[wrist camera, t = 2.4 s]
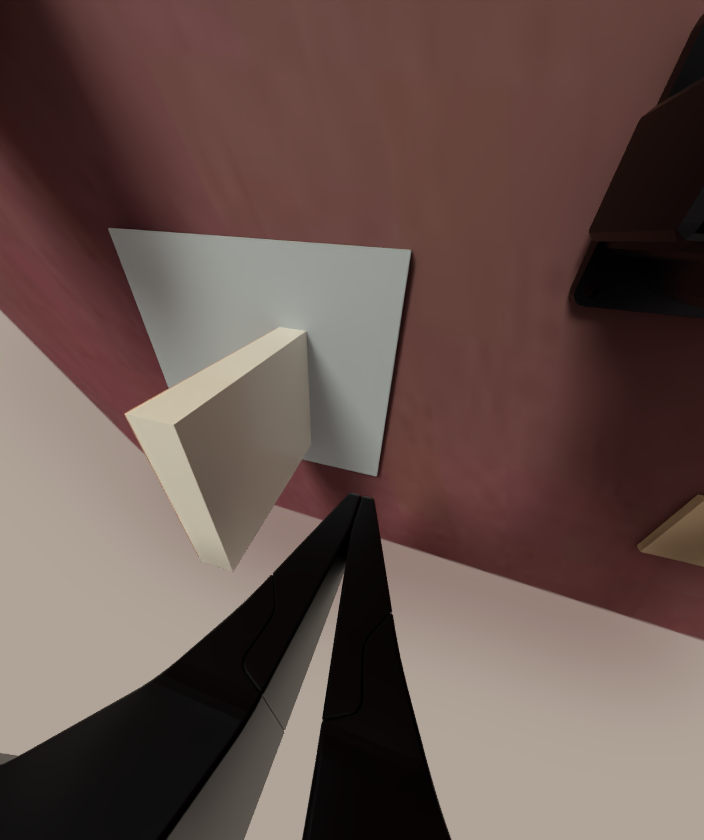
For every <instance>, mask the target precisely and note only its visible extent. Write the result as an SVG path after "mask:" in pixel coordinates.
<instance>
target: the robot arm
mask: <svg viewBox="0 0 704 840" xmlns="http://www.w3.org/2000/svg"><path fill="white" fill-rule="evenodd" d="M589 234H590V237H591V240H592V241H593V242H592V244H591V246H590V248H589V250H588V252H587V254H586V256H585V258H584V261H583V263H582V265H581V267H580V269H579V271H578V273H577V275H576V278H575V280H574V282H573V284H572V286H571V289H570V292H569V295H570V299H571V300H572V301H573V302H574V303H576V304H578V305H582V306H587V307H597V308H607V309H617V310H627V311H637V312H647V313H657V314H667V315H677V316H687V317H697V318H704V14H703V15H702V16H701V17H700V19H699V20H698V22H697V24H696V25H695V27H694V28H693V30H692V32H691V34H690V36H689V38H688V40H687V42H686V45H685V47H684V49H683V51H682V53H681V55H680V57H679V59H678V62H677V64H676V66H675V68H674V70H673V72H672V74H671V76H670V78H669V81H668V83H667V85H666V87H665V89H664V91H663V93H662V95H661V98H660V100H659V102H658V104H657V106H655V107H654V108H653V109H652V110H651V111H649V112H648V113H647V114H646V115H644V116H643V117H642V118H641V119H640V121H639V122H638V124H637V127H636V129H635V131H634V133H633V135H632V137H631V140H630V142H629V144H628V146H627V148H626V151H625V153H624V155H623V157H622V159H621V162H620V164H619V166H618V168H617V170H616V172H615V175H614V177H613V179H612V181H611V183H610V186H609V188H608V190H607V192H606V194H605V197H604V199H603V201H602V203H601V205H600V207H599V210H598V212H597V214H596V216H595V218H594V221H593V223H592V225H591V227H590V229H589ZM593 282H595V284H596V288H595V290H594V291H593V293H592V294H590V295H588V296H585V297H584V296H583V290H584V288H585V287H586V286H587V285H589V284H590V283H593ZM343 574H344V578H343V584H342V591H341V598H340V605H339V611H338V618H337V624H336V631H335V638H334V644H333V651H332V658H331V664H330V671H329V678H328V684H327V691H326V697H325V703H324V710H323V717H322V719H323V722H322V724H321V730H320V736H319V743H318V749H317V755H316V762H315V767H314V773H313V779H312V786H311V791H310V797H309V803H308V809H307V815H306V820H305V826H304V832H303V838H302V840H451V838H450V835H449V832H448V829H447V826H446V823H445V820H444V817H443V814H442V811H441V808H440V805H439V801H438V798H437V795H436V792H435V788H434V785H433V781H432V778H431V774H430V771H429V767H428V764H427V760H426V756H425V752H424V749H423V744H422V741H421V737H420V733H419V730H418V725H417V722H416V718H415V714H414V710H413V707H412V703H411V699H410V695H409V691H408V687H407V683H406V679H405V676H404V671H403V667H402V662H401V658H400V653H399V648H398V642H397V637H396V631H395V625H394V620H393V615H392V614H391V613H392V608H391V602H390V595H389V589H388V583H387V576H386V570H385V564H384V557H383V551H382V544H381V538H380V532H379V526H378V519H377V513H376V507H375V501H374V499H373V498H370V497H366V496H363V497H361V495H358V494H354V493H349V494H348V495H347V496H346V497H345V498H344V499H343V500H342V501H341V502H340V503H339V504H338V505H337V506H336V508H335V509H334V510H333V511H332V512H331V513H330V514H329V515H328V516H327V517H326V518H325V519H324V520H323V521H322V522H321V523H320V524H319V525H318V527H317V528H316V529H315V530H314V531H313V532H312V533H311V534H310V535H309V536H308V537H307V538H306V539H305V540H304V541H303V542H302V543H301V544H300V545H299V546H298V547H297V548H296V549H295V550H294V552H293V553H292V554H291V555H290V556H289V557H288V558H287V559H286V560H285V561H284V562H283V563H282V564H281V565H280V566H279V567H278V568H277V569H276V570H275V571H274V573H273V575H270V577H269V578H268V579H267V580H266V581H265V582H264V583H263V584H262V585H261V586H260V587H259V588H258V589H257V590H256V591H255V592H254V593H253V594H252V595H251V596H250V597H249V598H248V599H247V600H246V601H245V602H244V603H243V604H242V605H240V606H239V607H238V608H237V609H236V610H235V611H234V612H233V613H232V614H230V616H228V617H227V618H226V619H225V620H224V621H223V622H221V623H220V624H219V625H218V626H217V627H216V628H214V629H213V630H212V631H211V632H210V633H209V634H207V635H206V636H205V637H204V638H203V639H202V640H201V641H199V642H198V643H197V644H196V645H195V646H194V647H192V648H191V649H190V650H189V651H188V652H187V653H185V654H184V655H183V656H182V657H181V658H180V659H179V660H177V661H176V662H175V663H174V664H172V665H171V666H170V667H169V668H168V669H166V670H165V671H164V672H162V673H161V674H160V675H158V676H157V677H155V678H154V679H153V680H151V681H150V682H148V683H147V684H145V685H144V686H142V687H141V688H138V689H137V690H135V691H133V692H132V693H130V694H128V695H126V696H124V697H123V698H121V699H119V700H117V701H116V702H114V703H112V704H110V705H109V706H107V707H105V708H103V709H101V710H100V711H98V712H96V713H94V714H93V715H91V716H89V717H87V718H86V719H84V720H82V721H80V722H78V723H77V724H75V725H73V726H71V727H70V728H68V729H66V730H64V731H62V732H61V733H59V734H57V735H55V736H53V737H52V738H50V739H48V740H46V741H45V742H43V743H41V744H39V745H37V746H36V747H34V748H32V749H31V750H29V751H27V752H25V753H23V754H21V755H20V756H15V755H9V754H2V753H0V840H244V838H245V835H246V833H247V830H248V827H249V824H250V822H251V819H252V816H253V814H254V811H255V809H256V806H257V803H258V801H259V798H260V795H261V793H262V790H263V787H264V784H265V781H266V779H267V777H268V774H269V771H270V768H271V766H272V763H273V760H274V758H275V755H276V753H277V750H278V747H279V745H280V742H281V739H282V737H283V734H284V730H285V728H286V726H287V723H288V720H289V718H290V715H291V712H292V710H293V707H294V704H295V702H296V699H297V696H298V694H299V691H300V688H301V686H302V683H303V680H304V678H305V675H306V672H307V670H308V667H309V664H310V662H311V659H312V656H313V654H314V651H315V648H316V646H317V643H318V640H319V638H320V635H321V632H322V630H323V627H324V624H325V622H326V619H327V616H328V614H329V611H330V608H331V606H332V603H333V600H334V598H335V595H336V592H337V590H338V587H339V584H340V582H341V579H342V576H343Z"/></svg>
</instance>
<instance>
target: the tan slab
mask: <svg viewBox="0 0 704 840" xmlns="http://www.w3.org/2000/svg"><path fill="white" fill-rule="evenodd" d="M637 547H638V549H639V550H640V552H644V553H648V554H652V555H656V556H660V557H665V558H669V559H673V560H677V561H681V562H685V563H690V564H694V565H698V566H702V567H704V495H699V494H698V495H697V496H695V497H694V498H693V499H692V500H691V501H689V502H688V503H687V504H686V505H685V506H683V507H682V508H681V509H680V510H679V511H677V512H676V513H675V514H674V515H673V516H671V517H670V518H669V519H668V520H667V521H665V522H664V523H663V524H662V525H661V526H659V527H658V528H657V529H656V530H655V531H653V532H652V533H651V534H650V535H649V536H647V537H646V538H645V539H644V540H643V541H641V542H640V543H639V544H638V545H637Z"/></svg>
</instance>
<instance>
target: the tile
mask: <svg viewBox="0 0 704 840" xmlns="http://www.w3.org/2000/svg"><path fill="white" fill-rule="evenodd" d="M124 415H125V417H126V418H127V420H128V422H129V424H130V426H131V428H132V430H133V432H134V434H135V436H136V438H137V440H138V442H139V443H140V445H141V447H142V449H143V451H144V453H145V455H146V457H147V459H148V461H149V463H150V465H151V466H152V468H153V470H154V472H155V474H156V476H157V478H158V480H159V482H160V484H161V486H162V488H163V489H164V491H165V493H166V495H167V497H168V499H169V501H170V503H171V505H172V507H173V509H174V510H175V512H176V515H177V516H178V518H179V520H180V522H181V524H182V526H183V528H184V530H185V532H186V534H187V535H188V538H189V540H190V541H191V543H192V545H193V547H194V549H195V551H196V553H197V555H198V557H199V558H200V560H201V561H202V562H204V563H207V564H210V565H213V566H216V567H219V568H223V569H225V570H228V571H231V572H233V571H234V570H235V568H236V567H237V565H238V563H239V562H240V560H241V558H242V556H243V555H244V554H245V552H246V550H247V549H248V547H249V545H250V543H251V542H252V541H253V539H254V537H255V536H256V534H257V532H258V531H259V529H260V527H261V526H262V524H263V523H264V521H265V519H266V518H267V516H268V514H269V513H270V511H271V509H272V508H273V506H274V505H275V503H276V501H277V500H278V498H279V496H280V495H281V493H282V491H283V490H284V488H285V487H286V485H287V483H288V482H289V480H290V478H291V477H292V475H293V473H294V472H295V470H296V469H297V467H298V465H299V464H300V462H301V460H302V459H303V457H304V455H305V454H306V452H307V451H308V449H309V447H310V446H311V423H310V400H309V377H308V354H307V331H304V330H297V329H289V328H282V327H279V328H277V329H274V330H273V331H271V332H269V333H267V334H265V335H264V336H262V337H260V338H258V339H257V340H255V341H253V342H251V343H249V344H248V345H246V346H244V347H242V348H240V349H239V350H237V351H235V352H233V353H231V354H230V355H228V356H226V357H224V358H223V359H221V360H219V361H217V362H215V363H214V364H212V365H210V366H208V367H206V368H205V369H203V370H201V371H199V372H198V373H196V374H194V375H192V376H190V377H189V378H187V379H185V380H183V381H181V382H180V383H178V384H176V385H174V386H172V387H171V388H169V389H167V390H165V391H164V392H162V393H160V394H158V395H156V396H155V397H153V398H151V399H149V400H147V401H146V402H144V403H142V404H140V405H139V406H137V407H135V408H133V409H131V410H130V411H128V412H126V413H124Z"/></svg>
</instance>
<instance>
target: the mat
mask: <svg viewBox="0 0 704 840" xmlns="http://www.w3.org/2000/svg"><path fill="white" fill-rule="evenodd" d="M108 230H109V232H110V235H111V238H112V240H113V243H114V246H115V248H116V251H117V253H118V256H119V259H120V261H121V264H122V267H123V269H124V272H125V274H126V277H127V280H128V282H129V285H130V288H131V290H132V293H133V295H134V298H135V301H136V303H137V306H138V309H139V311H140V314H141V316H142V319H143V322H144V324H145V327H146V330H147V332H148V335H149V337H150V340H151V343H152V345H153V348H154V351H155V353H156V356H157V359H158V361H159V364H160V366H161V369H162V372H163V374H164V377H165V380H166V382H167V385H168V387H169V388H171V387H172V386H174V385H176V384H178V383H180V382H181V381H183V380H185V379H187V378H189V377H190V376H192V375H194V374H196V373H198V372H199V371H201V370H203V369H205V368H206V367H208V366H210V365H212V364H214V363H215V362H217V361H219V360H221V359H223V358H224V357H226V356H228V355H230V354H231V353H233V352H235V351H237V350H239V349H240V348H242V347H244V346H246V345H248V344H249V343H251V342H253V341H255V340H257V339H258V338H260V337H262V336H264V335H265V334H267V333H269V332H271V331H273V330H274V329H277V328H279V327H282V328H289V329H297V330H304V331H307V354H308V377H309V400H310V423H311V446H310V447H309V449H308V451H307V452H306V454H305V455H304V457H303V460H307V461H311V462H316V463H320V464H324V465H329V466H333V467H337V468H342V469H346V470H350V471H355V472H359V473H363V474H368V475H372V476H376V477H377V473H378V467H379V461H380V454H381V448H382V441H383V435H384V428H385V421H386V415H387V408H388V402H389V395H390V389H391V382H392V376H393V369H394V363H395V356H396V350H397V343H398V337H399V330H400V324H401V317H402V310H403V304H404V297H405V291H406V284H407V278H408V271H409V265H410V258H411V252H412V250H404V249H391V248H377V247H364V246H350V245H337V244H323V243H310V242H296V241H283V240H269V239H256V238H242V237H229V236H215V235H202V234H188V233H175V232H161V231H148V230H134V229H121V228H108Z"/></svg>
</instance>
